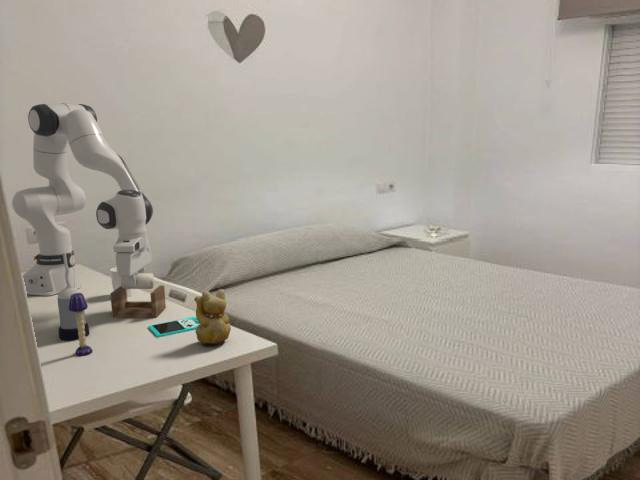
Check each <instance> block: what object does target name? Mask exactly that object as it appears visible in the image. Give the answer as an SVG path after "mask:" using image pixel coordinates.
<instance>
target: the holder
mask: <svg viewBox="0 0 640 480" xmlns="http://www.w3.org/2000/svg"><path fill="white" fill-rule="evenodd" d="M165 292H166V291H165V285H159V286H157V287H156V288H155V289H154V290H153V291H151V293H150V301H148V300H147V301H142V300H141V301H136V300H135V301H130V300H129V301H128V297H127V293H126V289H123V288H122V286H120V287H119V288H117V289H116V290H115V291H114V290H112V292H110V296H109V297H110V302H111V303H110V305H111V315H112V318H133V319H134V318H145V319H146V318H147V319H151V318H152V319H153V318H156V319H157V318H158V317H159V316H160V315H161V314H162V313H163V312H164V311H165V310H166V309H165V308H167V307H166V306H167V305H166V295H165V294H166V293H165ZM164 309H165V310H164Z"/></svg>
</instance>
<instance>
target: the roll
mask: <svg viewBox="0 0 640 480" xmlns="http://www.w3.org/2000/svg"><path fill="white" fill-rule="evenodd" d="M135 279H136V280H137V285H136V286H130V281H129V279H128V277H122V278H121V285H122V288H123V289H134V290H143V289H144V290H145V289H146V290H152V289H153V288H154V286H155V276H154V273H152V272H151V273H149V272H148V273H146V272H145V273H138V272H136V273H135Z"/></svg>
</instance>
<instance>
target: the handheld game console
mask: <svg viewBox="0 0 640 480" xmlns="http://www.w3.org/2000/svg"><path fill="white" fill-rule="evenodd" d="M198 325H200V323H199V322H198V320H197V318H196V316H191V317H186V318H185V317H184V318H180V319H176V320H171V321H164V322H161V323H160V322H159V323H156V324H151V325H148V329H149V330H150V332H152V333H153V334H154V336H155V337H156V338H161V337H168V336H171V335H172V336H173V335H176V333H177V334H181V332H182V333H185V332H190V331H196V327H197V326H198Z"/></svg>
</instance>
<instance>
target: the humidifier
mask: <svg viewBox="0 0 640 480" xmlns="http://www.w3.org/2000/svg"><path fill="white" fill-rule="evenodd" d="M71 257H72V253H71ZM63 258H64V266H65V269H66V273H65V279H66V283H67V287H66V288H65V289H63V290H62V291H61V292H60V293H59V294H58V295H57V307H58V314H59V315H58V316H59V323H60V326H59V327H58V338H59V340H60V341H64V342H71V341H79V335H78V325H77V319H76V312H72V311H69V303H70V297H71V295H72V294H75V293H82V291H81V290H80V289H79V288H78V289H77V288H74V287H75V279H74V287H72V286H71V284H70V281H69V268H68V265H67V259H66V252H64V253H63ZM72 265H73V263H72ZM72 268H73V266H72ZM73 270H74V269H73ZM74 273H75V271H74ZM85 311H86V310H83V313H82V314H83V320H84V326H85V329H84V331H85V337H86V338H87V337H88V336H90V326H89V324H88V323H87V322H86V321H87V320H86V313H85Z"/></svg>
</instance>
